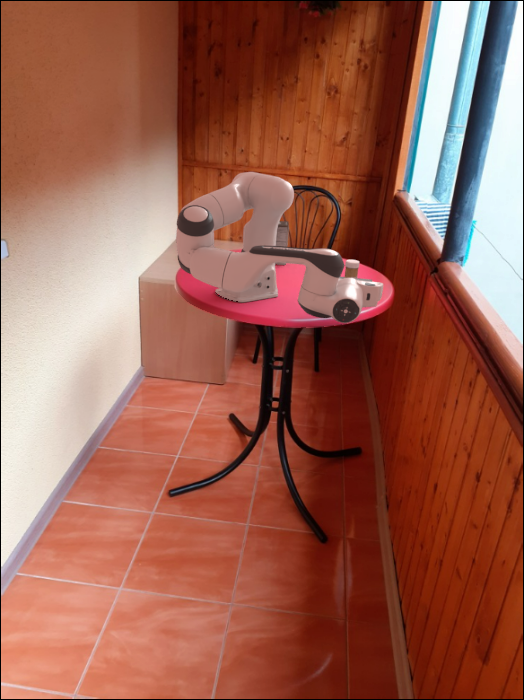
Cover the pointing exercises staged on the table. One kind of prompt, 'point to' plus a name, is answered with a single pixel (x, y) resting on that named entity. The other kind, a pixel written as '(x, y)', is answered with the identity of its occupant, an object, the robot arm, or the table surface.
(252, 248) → the robot arm
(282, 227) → the coffee box
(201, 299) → the table surface
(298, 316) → the table surface
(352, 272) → the sprinkles bottle
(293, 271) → the table surface
